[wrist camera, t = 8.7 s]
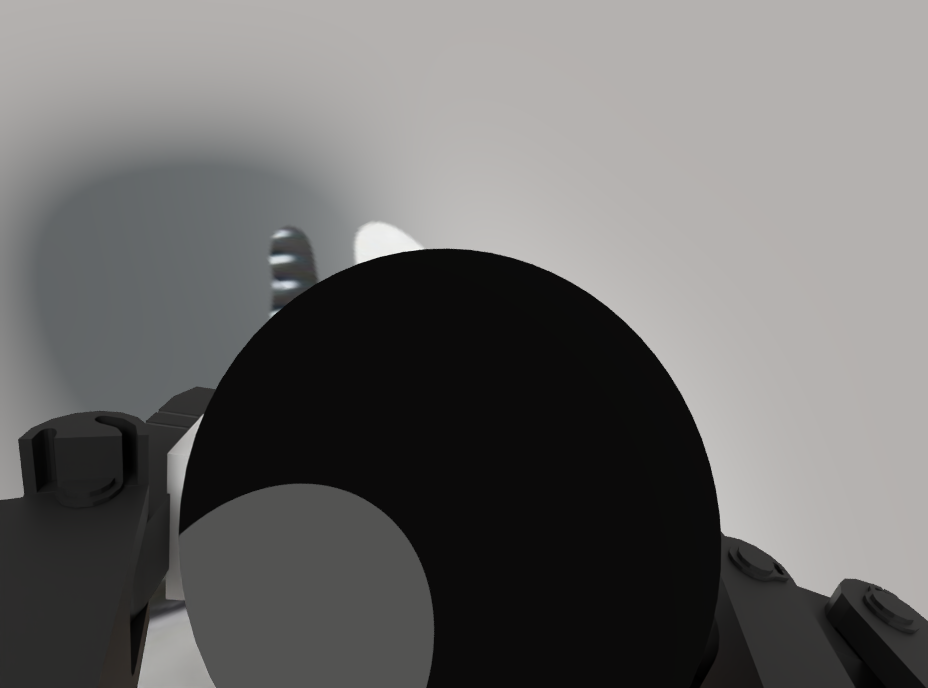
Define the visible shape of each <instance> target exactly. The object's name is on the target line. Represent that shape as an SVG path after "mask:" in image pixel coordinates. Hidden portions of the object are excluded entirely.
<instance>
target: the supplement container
mask: <svg viewBox="0 0 928 688" xmlns="http://www.w3.org/2000/svg"><path fill="white" fill-rule="evenodd" d="M178 536H179V558H180V573H181V579H182V585H183V592H184V598H185V604H186V609H187V612H188V616H189V619H190V623H191V626H192V630H193V634H194V637H195V641H196V644H197V646H198V648H199V651H200V653H201V656H202V658H203V661H204V663H205V665H206V668H207V670H208V673H209V675H210V677H211V679H212V681H213V683H214V684H215V686H216V688H689V687H690V686H691V684H692V681H693V679H694V676H695V674H696V672H697V669H698V667H699V665H700V662H701V660H702V657H703V655H704V651H705V648H706V645H707V642H708V638H709V635H710V632H711V628H712V624H713V619H714V614H715V609H716V605H717V600H718V591H719V582H720V573H721V528H720V514H719V508H718V501H717V494H716V488H715V484H714V479H713V475H712V471H711V467H710V463H709V460H708V457H707V453H706V451H705V447H704V444H703V441H702V438H701V436H700V433H699V431H698V429H697V426H696V424H695V421H694V419H693V417H692V415H691V412H690V410H689V408H688V407H687V405H686V403H685V401H684V399H683V397H682V395H681V393H680V391H679V390H678V388H677V386H676V385H675V384H674V382H673V380H672V378H671V377H670V375H669V374H668V372H667V371H666V369H665V368H664V367H663V365H662V364H661V363H660V361H659V360H658V358H657V357H656V355H655V354H654V353H653V352H652V351H651V350H650V348H649V347H648V346H647V345H646V344H645V343H644V342H643V340H642V339H641V338H640V337H639V336H638V335H637V334H636V333H635V332H634V331H633V330H632V329H631V328H630V327H629V326H628V325H627V324H626V323H625V322H624V321H623V320H622V319H621V318H620V317H619V316H617V315H616V314H615V313H614V312H613V311H612V310H610V309H609V308H608V307H607V306H606V305H604V304H603V303H602V302H600V301H599V300H597V299H596V298H595V297H593V296H592V295H591V294H589V293H588V292H586V291H584V290H583V289H581V288H579V287H578V286H576V285H574V284H573V283H571V282H569V281H567V280H566V279H563V278H562V277H560V276H557V275H556V274H554V273H552V272H549V271H547V270H544V269H542V268H540V267H537V266H535V265H533V264H529V263H526V262H523V261H520V260H517V259H514V258H510V257H506V256H502V255H497V254H493V253H488V252H480V251H473V250H463V249H424V250H416V251H408V252H401V253H396V254H392V255H387V256H383V257H379V258H376V259H372V260H369V261H366V262H363V263H360V264H357V265H355V266H352V267H350V268H348V269H345V270H343V271H340V272H338V273H336V274H334V275H332V276H330V277H329V278H327V279H325V280H323V281H321V282H319V283H317V284H315V285H314V286H312V287H311V288H309V289H308V290H306V291H305V292H303V293H302V294H300V295H299V296H297V297H296V298H294V299H293V300H292V301H291V302H289V303H288V304H287V305H286V306H284V307H283V308H282V309H281V310H280V311H278V312H277V313H276V314H275V315H274V316H273V317H272V318H271V319H270V320H269V321H268V322H267V323H266V324H265V325H264V326H263V327H262V328H261V329H260V330H259V331H258V332H257V333H256V334H255V335H254V336H253V337H252V338H251V339H250V341H249V342H248V343H247V344H246V346H245V347H244V348H243V349H242V351H241V352H240V353H239V354H238V355H237V357H236V358H235V360H234V361H233V363H232V364H231V366H230V367H229V369H228V370H227V372H226V374H225V375H224V376H223V378H222V379H221V381H220V383H219V385H218V387H217V388H216V390H215V392H214V394H213V396H212V398H211V400H210V402H209V404H208V406H207V408H206V410H205V413H204V415H203V418H202V420H201V423H200V425H199V428H198V430H197V433H196V435H195V438H194V442H193V445H192V449H191V452H190V456H189V459H188V463H187V466H186V472H185V478H184V483H183V489H182V495H181V502H180V518H179V533H178Z"/></svg>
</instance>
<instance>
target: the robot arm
mask: <svg viewBox="0 0 928 688" xmlns="http://www.w3.org/2000/svg"><path fill="white" fill-rule="evenodd" d="M214 392H215V389H208V388H202V387H195V388H193V389H190V390H188V391H186V392H183V393H181V394H179V395H176V396H174V397H173V398H171V399H170V400H169V401H168V402H167V403H166V404H165V405H164V406H162V407H161V408H160V409H159V412H158V413H157V412H156V413H155V414H153V416H151V417H150V418H149V419H148V420H147V421H146V424H145V423H144V422H143V421H142V420H140V419H139V418H138V417H135V416H132V415H128V414H125V413H121V412H107V411H95V412H84V413H75V414H70V415H67V416H62V417H59V418H55V419H51V420H49V421H47V422H44V423H42V424H40V425H38V426H35V427H33V428H31V429H30V430H29V431H28V432H26V433H25V434H24V435H23V436H22V437H21V438H19V439H18V441H19V451H20V458H21V459H20V460H21V468H22V477H23V486H24V496H23V497H21V498H14V499H8V500H0V688H137V685H138V680H139V674H140V669H141V663H142V658H143V652H144V647H145V641H146V636H147V630H148V625H149V599H150V598H151V596H152V595H153V593H154V591H155V590H156V588H157V587H158V585H159V584H160V582H161V581H162V579H163V577H164V576H165V574H166V599H171V600H183V601H185V598H184V592H183V585H182V579H181V573H180V558H179V536H178V533H179V518H180V502H181V495H182V489H183V483H184V478H185V472H186V466H187V463H188V459H189V456H190V452H191V449H192V445H193V442H194V438H195V435H196V433H197V430H198V428H199V425H200V423H201V420H202V418H203V415H204V413H205V410H206V408H207V406H208V404H209V402H210V400H211V398H212V396H213V394H214ZM689 688H928V621H927V620H926V619H925V618H924V617H922V616H921V615H920V614H919V613H917V612H916V611H915V610H914V609H912V608H911V607H910V606H909V605H907V604H906V603H904V602H903V601H901V600H900V599H899V598H898V597H897V596H896V595H894V594H893V593H891V592H889V591H887V590H885V589H884V590H883V589H882V588H881V587H879V586H877V585H874V584H870V583H867V582H864V581H861V580H857V579H844V580H843V581H842V582H841V583H840V584H839V585H838V587H837V588H836V590H835V591H834V593H833V595H832V596H831V598H830V597H827V596H824V595H821V594H818V593H815V592H813V591H810V590H807V589H804V588H801V587H798V586H797V585H796V584H795V582H794V580H793V579H792V578H791V576H790V575H789V574H788V572H787V571H786V570H785V568H784V567H783V566H782V565H781V564H780V563H778V562H777V561H776V560H775V559H773V558H772V557H771V556H770V555H768V554H766V553H765V552H763V551H762V550H760V549H759V548H757V547H756V546H754V545H751V544H749V543H747V542H744V541H742V540H740V539H736V538H732V537H727V536H724V534H723V533H722V532H721V573H720V582H719V591H718V600H717V605H716V609H715V614H714V619H713V624H712V628H711V632H710V635H709V638H708V642H707V645H706V648H705V651H704V655H703V657H702V660H701V662H700V665H699V667H698V669H697V672H696V674H695V676H694V679H693V681H692V684H691V686H690V687H689Z"/></svg>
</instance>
